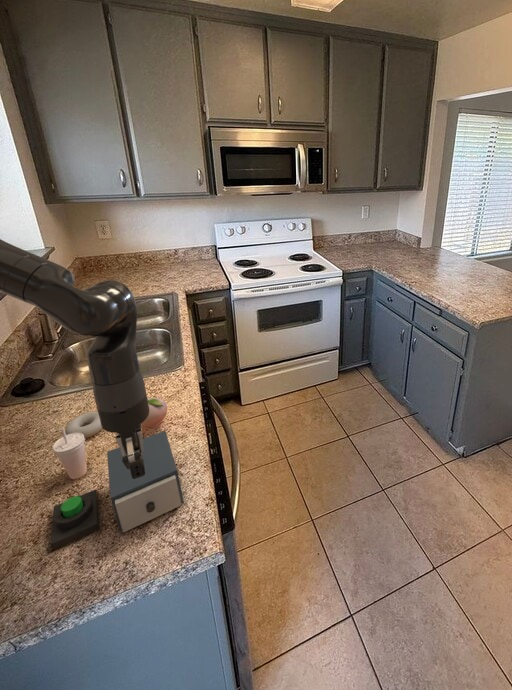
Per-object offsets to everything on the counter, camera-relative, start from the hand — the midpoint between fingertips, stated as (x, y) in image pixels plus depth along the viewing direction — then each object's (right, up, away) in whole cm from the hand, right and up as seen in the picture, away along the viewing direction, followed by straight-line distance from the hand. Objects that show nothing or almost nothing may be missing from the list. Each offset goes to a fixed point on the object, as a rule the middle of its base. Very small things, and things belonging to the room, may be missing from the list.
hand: (138, 474), depth 67 cm
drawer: (-5, -12, +14) cm, 19 cm away
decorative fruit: (-16, -5, +37) cm, 41 cm away
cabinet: (-6, -12, +16) cm, 21 cm away
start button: (-18, -12, +9) cm, 24 cm away
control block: (-18, -15, +10) cm, 26 cm away
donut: (-34, -6, +36) cm, 50 cm away
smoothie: (-26, -11, +22) cm, 36 cm away
